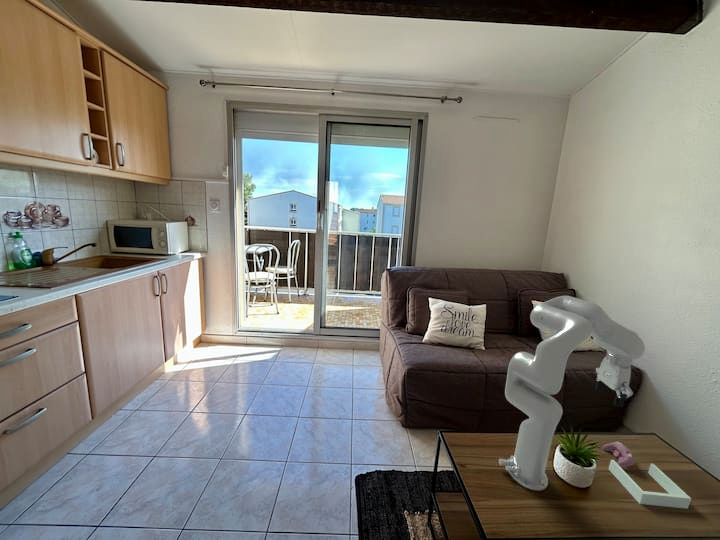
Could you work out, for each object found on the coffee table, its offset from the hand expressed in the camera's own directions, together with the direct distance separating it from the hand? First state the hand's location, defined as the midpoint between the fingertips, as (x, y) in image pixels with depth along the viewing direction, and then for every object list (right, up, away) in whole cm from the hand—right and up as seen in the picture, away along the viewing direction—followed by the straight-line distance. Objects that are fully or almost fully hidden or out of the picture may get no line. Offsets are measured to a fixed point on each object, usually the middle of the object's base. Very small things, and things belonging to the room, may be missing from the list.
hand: (608, 397), depth 118 cm
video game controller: (-2, -21, -6) cm, 22 cm away
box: (-2, -23, -17) cm, 29 cm away
